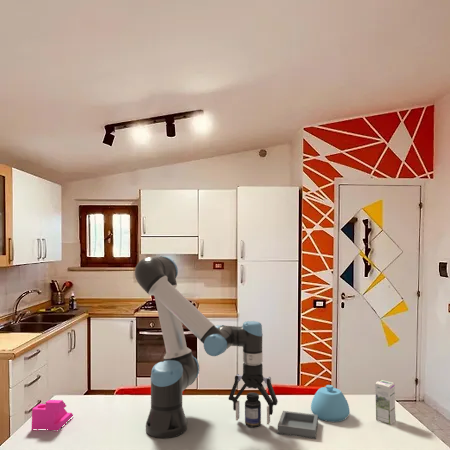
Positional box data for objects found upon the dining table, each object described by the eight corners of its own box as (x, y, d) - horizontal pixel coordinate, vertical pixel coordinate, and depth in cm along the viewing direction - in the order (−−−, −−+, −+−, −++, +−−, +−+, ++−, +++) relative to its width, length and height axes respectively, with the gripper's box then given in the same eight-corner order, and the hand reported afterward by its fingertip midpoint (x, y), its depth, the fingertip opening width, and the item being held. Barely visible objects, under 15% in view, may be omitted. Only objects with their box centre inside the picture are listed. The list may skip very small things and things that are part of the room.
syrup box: (396, 420, 154) (395, 382, 155) (390, 425, 150) (389, 386, 151) (381, 415, 158) (380, 378, 159) (375, 420, 154) (374, 382, 155)
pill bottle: (251, 419, 155) (251, 390, 156) (264, 423, 151) (263, 394, 152) (241, 424, 150) (241, 395, 151) (254, 429, 147) (254, 398, 147)
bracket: (58, 431, 145) (58, 402, 146) (31, 430, 146) (32, 402, 147) (73, 417, 157) (74, 391, 158) (48, 416, 158) (49, 390, 159)
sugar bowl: (335, 427, 149) (335, 395, 149) (303, 414, 160) (303, 385, 161) (356, 415, 159) (356, 386, 159) (325, 404, 170) (324, 377, 170)
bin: (277, 433, 143) (277, 425, 143) (283, 418, 156) (282, 410, 156) (315, 438, 139) (315, 430, 139) (317, 422, 152) (317, 414, 152)
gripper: (220, 362, 152) (220, 421, 151) (282, 368, 145) (282, 429, 144) (225, 357, 159) (225, 413, 158) (284, 362, 152) (285, 420, 151)
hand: (252, 421), depth 151 cm, fingers open, 11 cm apart
